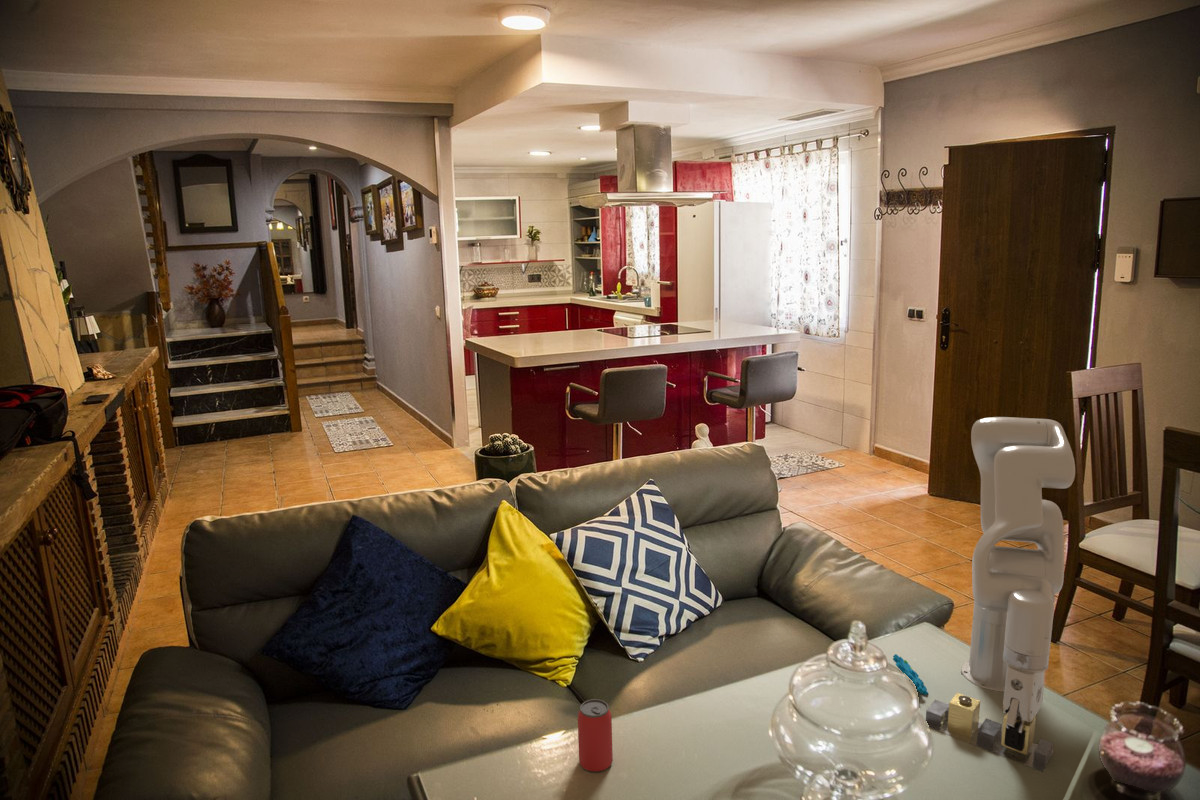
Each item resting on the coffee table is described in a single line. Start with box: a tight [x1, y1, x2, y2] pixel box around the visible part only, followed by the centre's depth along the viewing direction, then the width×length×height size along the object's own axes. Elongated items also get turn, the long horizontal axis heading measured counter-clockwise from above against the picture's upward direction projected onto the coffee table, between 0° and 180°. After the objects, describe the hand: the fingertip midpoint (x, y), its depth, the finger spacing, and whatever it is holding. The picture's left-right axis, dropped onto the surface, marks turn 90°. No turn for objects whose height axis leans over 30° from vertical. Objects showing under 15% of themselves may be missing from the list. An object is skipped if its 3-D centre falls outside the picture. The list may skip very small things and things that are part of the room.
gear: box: [892, 653, 929, 696], centre depth 174 cm, size 11×6×10 cm
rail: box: [925, 699, 1054, 773], centre depth 155 cm, size 8×22×4 cm, turn 48°
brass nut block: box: [1001, 712, 1037, 755], centre depth 151 cm, size 4×4×7 cm
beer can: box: [577, 698, 614, 773], centre depth 151 cm, size 7×7×12 cm
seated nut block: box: [947, 692, 981, 738], centre depth 157 cm, size 4×4×7 cm
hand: (1017, 740), depth 151 cm, fingers closed on brass nut block, 4 cm apart
